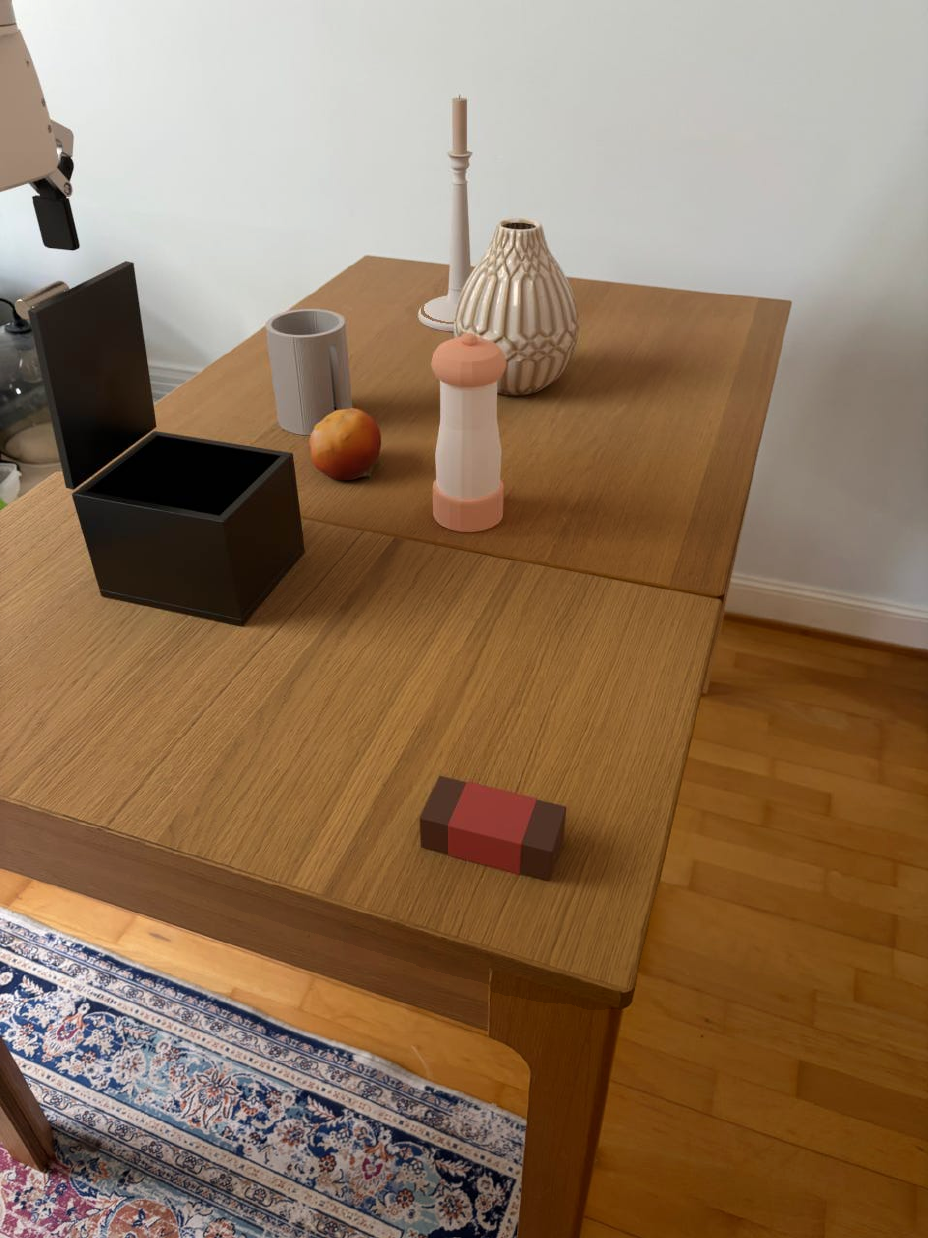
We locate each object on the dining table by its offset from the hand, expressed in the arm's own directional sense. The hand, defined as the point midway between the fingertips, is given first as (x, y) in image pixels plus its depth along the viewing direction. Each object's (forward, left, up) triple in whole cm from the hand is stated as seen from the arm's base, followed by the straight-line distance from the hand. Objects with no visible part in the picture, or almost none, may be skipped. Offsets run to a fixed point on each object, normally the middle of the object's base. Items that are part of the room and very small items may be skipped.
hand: (23, 264), depth 75 cm
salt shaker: (+35, -11, -28) cm, 46 cm away
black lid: (+4, -3, -9) cm, 10 cm away
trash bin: (+8, -8, -28) cm, 30 cm away
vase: (+57, +15, -28) cm, 65 cm away
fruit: (+28, +4, -28) cm, 40 cm away
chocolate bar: (+15, -49, -28) cm, 58 cm away
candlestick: (+63, +40, -28) cm, 80 cm away
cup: (+30, +18, -28) cm, 45 cm away
